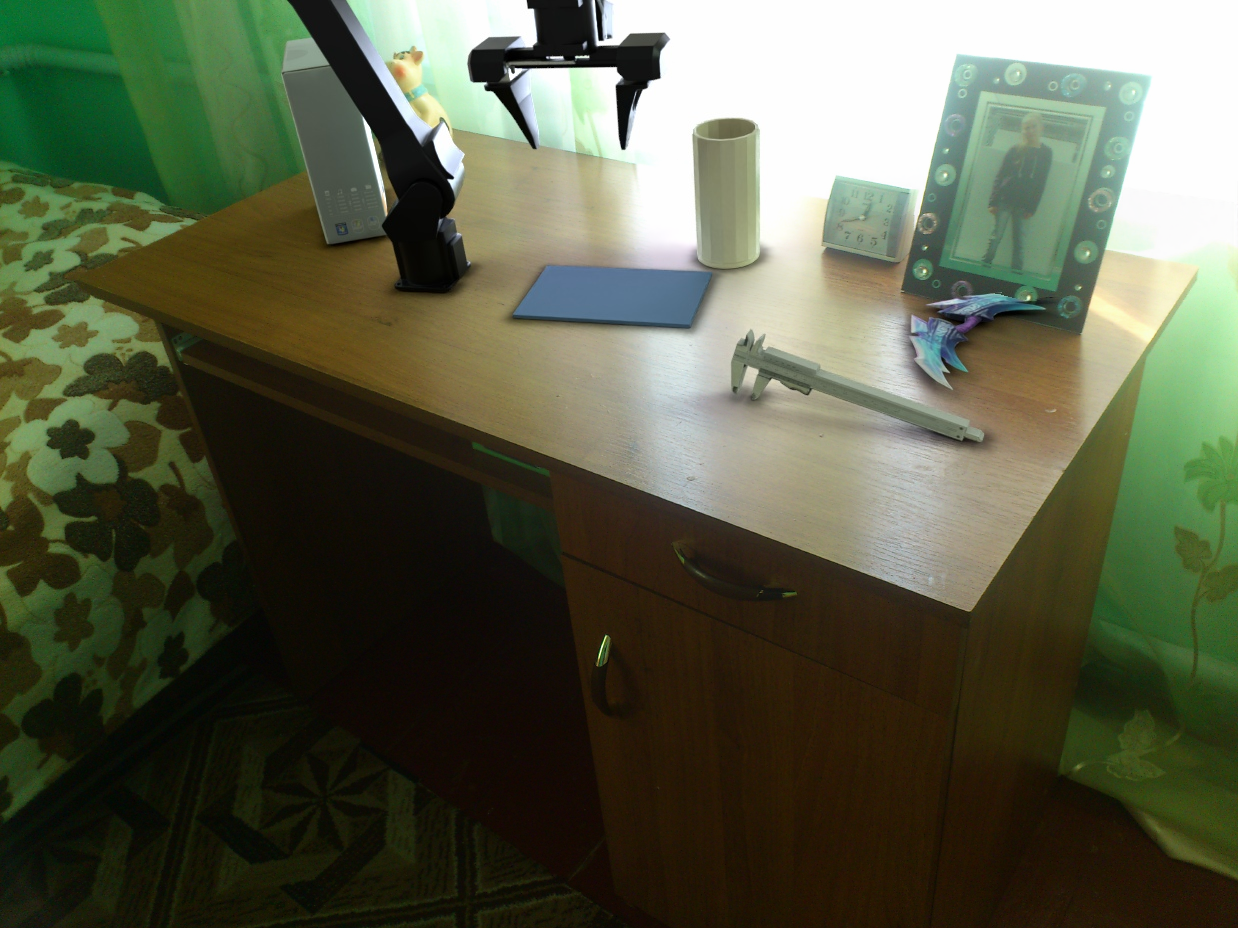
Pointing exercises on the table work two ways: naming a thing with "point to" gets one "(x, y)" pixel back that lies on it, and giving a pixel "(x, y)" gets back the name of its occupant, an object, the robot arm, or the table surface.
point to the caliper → (837, 388)
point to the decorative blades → (955, 329)
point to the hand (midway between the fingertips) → (579, 148)
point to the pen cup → (727, 191)
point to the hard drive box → (334, 146)
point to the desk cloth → (615, 296)
